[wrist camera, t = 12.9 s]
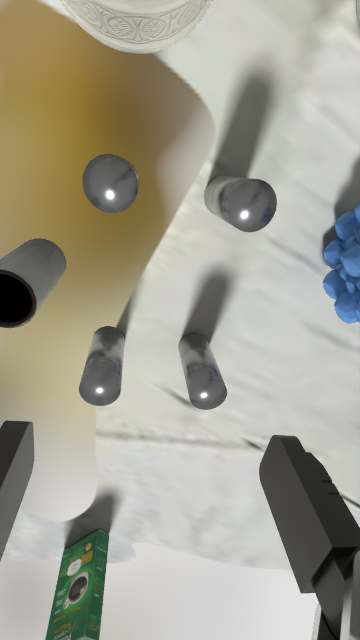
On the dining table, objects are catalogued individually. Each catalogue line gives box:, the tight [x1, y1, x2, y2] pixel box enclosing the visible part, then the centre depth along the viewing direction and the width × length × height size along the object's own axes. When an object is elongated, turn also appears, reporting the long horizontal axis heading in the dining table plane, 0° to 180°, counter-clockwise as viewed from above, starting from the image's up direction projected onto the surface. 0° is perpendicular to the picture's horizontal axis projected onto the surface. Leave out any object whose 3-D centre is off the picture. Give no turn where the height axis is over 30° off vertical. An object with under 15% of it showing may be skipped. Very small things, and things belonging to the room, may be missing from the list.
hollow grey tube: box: [0, 239, 66, 328], centre depth 27 cm, size 4×4×10 cm
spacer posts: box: [79, 154, 277, 410], centre depth 29 cm, size 21×14×9 cm, turn 171°
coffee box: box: [46, 530, 109, 640], centre depth 46 cm, size 8×3×13 cm, turn 126°
